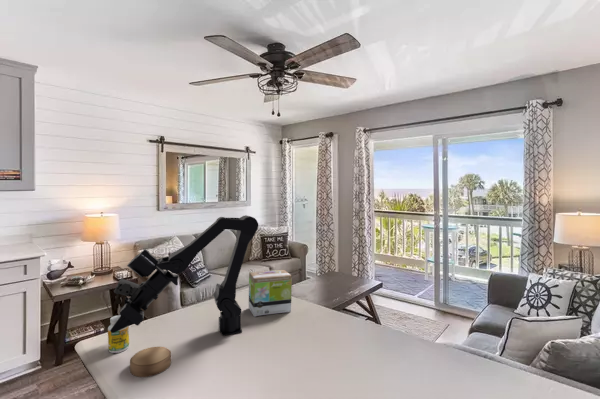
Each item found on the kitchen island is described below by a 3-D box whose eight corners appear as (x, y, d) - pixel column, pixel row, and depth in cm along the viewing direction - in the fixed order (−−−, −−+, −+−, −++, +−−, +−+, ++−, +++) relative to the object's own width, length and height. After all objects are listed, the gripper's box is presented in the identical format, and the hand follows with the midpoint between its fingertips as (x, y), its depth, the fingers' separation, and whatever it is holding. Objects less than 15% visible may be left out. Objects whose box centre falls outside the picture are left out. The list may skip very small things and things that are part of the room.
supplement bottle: (128, 342, 98) (127, 312, 98) (130, 350, 94) (129, 318, 94) (107, 347, 95) (107, 316, 95) (108, 355, 91) (108, 322, 91)
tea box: (254, 317, 118) (253, 278, 118) (248, 308, 127) (248, 271, 127) (292, 312, 124) (292, 274, 123) (283, 303, 133) (283, 268, 132)
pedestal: (170, 353, 92) (170, 343, 92) (171, 371, 83) (171, 360, 83) (131, 360, 88) (131, 350, 88) (128, 380, 79) (128, 368, 79)
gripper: (135, 263, 104) (97, 301, 100) (128, 278, 87) (81, 324, 83) (162, 284, 107) (125, 321, 103) (160, 302, 90) (116, 348, 86)
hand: (113, 327), depth 94 cm, fingers closed on supplement bottle, 5 cm apart
